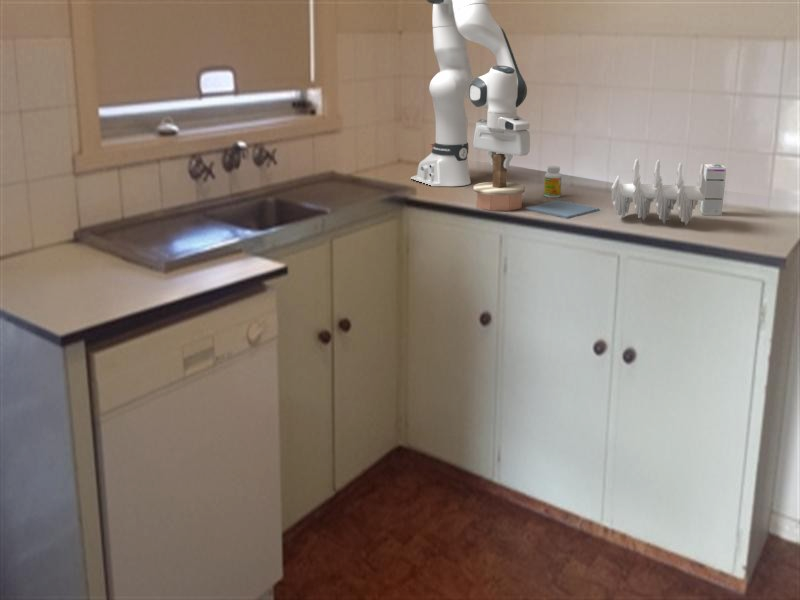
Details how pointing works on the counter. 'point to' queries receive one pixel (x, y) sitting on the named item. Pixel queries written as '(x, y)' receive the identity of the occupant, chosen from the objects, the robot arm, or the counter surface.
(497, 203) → the bowl
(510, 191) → the lid
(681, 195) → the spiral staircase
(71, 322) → the counter surface
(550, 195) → the supplement bottle
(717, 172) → the syrup box
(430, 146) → the robot arm
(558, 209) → the mat
